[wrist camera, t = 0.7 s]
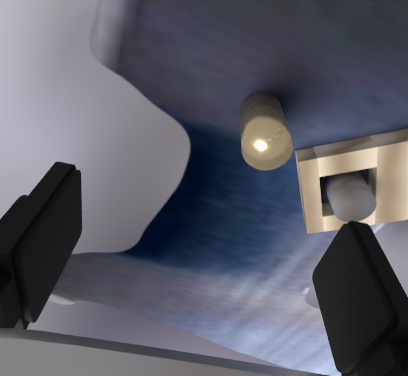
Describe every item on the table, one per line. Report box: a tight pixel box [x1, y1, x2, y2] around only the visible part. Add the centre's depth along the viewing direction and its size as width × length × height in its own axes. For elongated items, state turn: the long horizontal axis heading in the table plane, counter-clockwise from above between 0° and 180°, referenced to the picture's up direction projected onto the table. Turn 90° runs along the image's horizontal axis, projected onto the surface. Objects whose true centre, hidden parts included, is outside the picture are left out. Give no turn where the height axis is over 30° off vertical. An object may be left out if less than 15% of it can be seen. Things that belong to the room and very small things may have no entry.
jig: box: [295, 128, 408, 234], centre depth 36 cm, size 20×11×5 cm, turn 105°
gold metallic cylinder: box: [240, 92, 293, 170], centre depth 32 cm, size 4×4×8 cm
